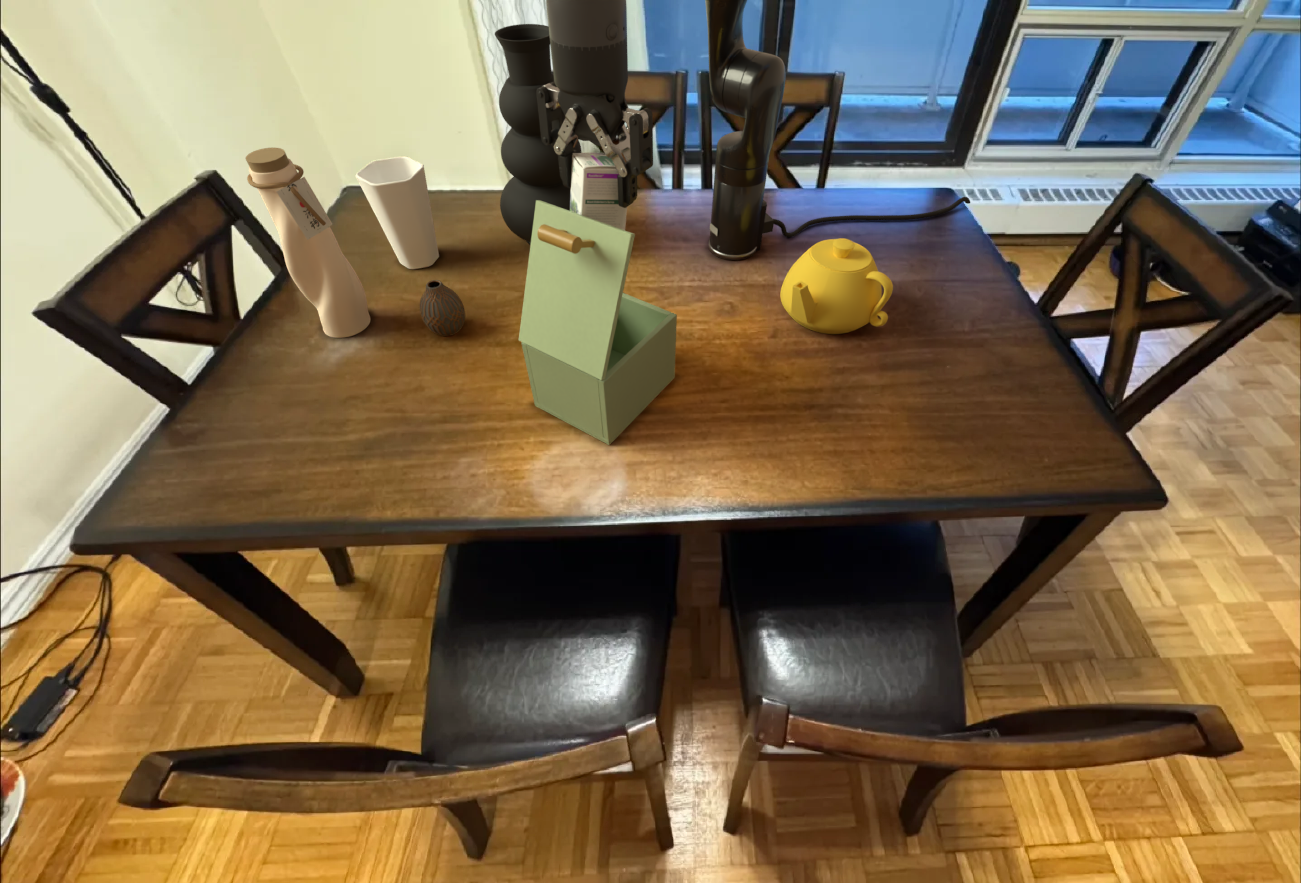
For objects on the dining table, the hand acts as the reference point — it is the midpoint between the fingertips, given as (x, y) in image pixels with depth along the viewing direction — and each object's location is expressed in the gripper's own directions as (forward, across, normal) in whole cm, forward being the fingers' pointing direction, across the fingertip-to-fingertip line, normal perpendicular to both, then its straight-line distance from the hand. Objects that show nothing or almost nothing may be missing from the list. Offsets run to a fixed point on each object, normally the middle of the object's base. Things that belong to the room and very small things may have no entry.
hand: (598, 194), depth 69 cm
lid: (+9, -2, +8) cm, 12 cm away
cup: (+30, +50, -5) cm, 59 cm away
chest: (+29, -2, +3) cm, 29 cm away
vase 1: (+30, +29, +6) cm, 42 cm away
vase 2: (+30, +34, -26) cm, 52 cm away
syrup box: (+11, 0, +2) cm, 11 cm away
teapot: (+29, -22, -33) cm, 49 cm away
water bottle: (+30, +44, +15) cm, 55 cm away
